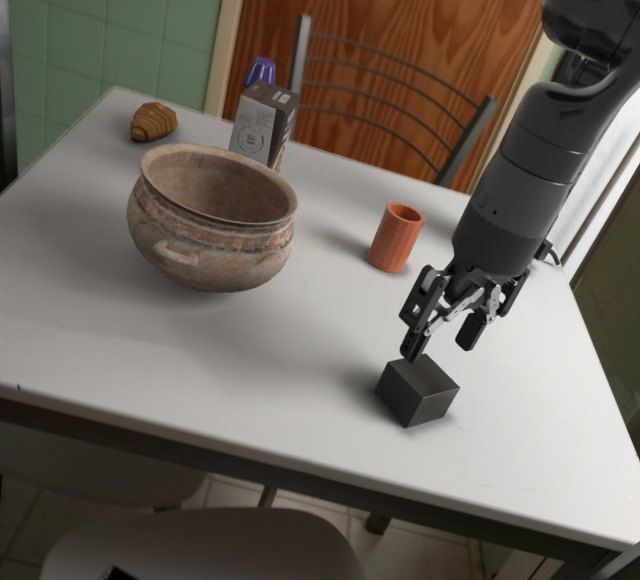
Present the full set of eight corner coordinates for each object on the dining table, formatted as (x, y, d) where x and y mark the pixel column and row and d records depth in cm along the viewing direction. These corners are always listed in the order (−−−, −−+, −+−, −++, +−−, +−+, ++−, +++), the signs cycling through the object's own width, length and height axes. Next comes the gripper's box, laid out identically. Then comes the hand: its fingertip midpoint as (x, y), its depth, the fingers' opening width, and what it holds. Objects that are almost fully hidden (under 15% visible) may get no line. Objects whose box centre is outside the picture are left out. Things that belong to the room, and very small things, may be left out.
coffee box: (256, 227, 95) (287, 112, 85) (212, 211, 95) (238, 92, 85) (272, 203, 102) (302, 94, 92) (231, 187, 102) (257, 76, 91)
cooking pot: (178, 209, 92) (194, 119, 85) (305, 266, 92) (333, 181, 84) (71, 286, 73) (79, 179, 65) (229, 359, 72) (257, 261, 65)
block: (410, 382, 80) (426, 352, 77) (443, 417, 77) (460, 387, 74) (373, 392, 76) (387, 361, 73) (406, 428, 73) (422, 398, 70)
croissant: (155, 155, 102) (160, 122, 99) (113, 137, 102) (116, 103, 99) (190, 130, 112) (195, 99, 109) (152, 114, 112) (156, 83, 109)
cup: (387, 250, 103) (407, 201, 98) (410, 271, 100) (432, 222, 95) (359, 252, 99) (379, 202, 94) (382, 274, 97) (404, 224, 92)
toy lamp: (223, 162, 107) (248, 50, 97) (252, 169, 109) (280, 59, 98) (223, 175, 104) (249, 60, 93) (253, 183, 105) (282, 70, 95)
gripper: (488, 238, 55) (410, 387, 65) (584, 231, 64) (502, 364, 74) (429, 190, 59) (364, 339, 69) (528, 190, 67) (457, 322, 78)
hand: (435, 352), depth 71 cm, fingers open, 8 cm apart
